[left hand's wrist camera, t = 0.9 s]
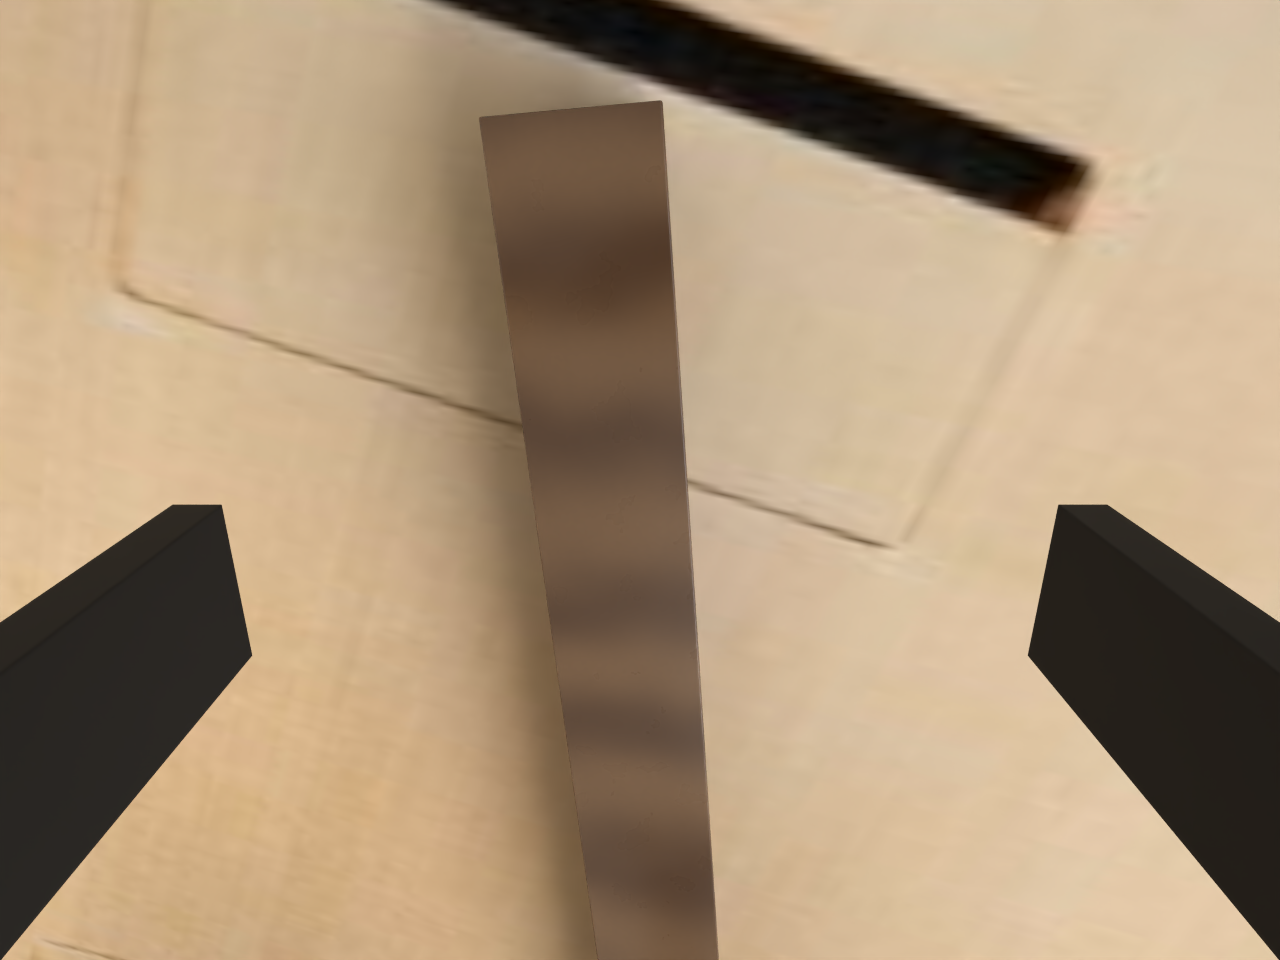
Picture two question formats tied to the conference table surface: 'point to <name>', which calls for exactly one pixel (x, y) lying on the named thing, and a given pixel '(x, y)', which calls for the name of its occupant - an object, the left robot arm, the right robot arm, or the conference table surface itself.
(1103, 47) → the conference table surface
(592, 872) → the beam
